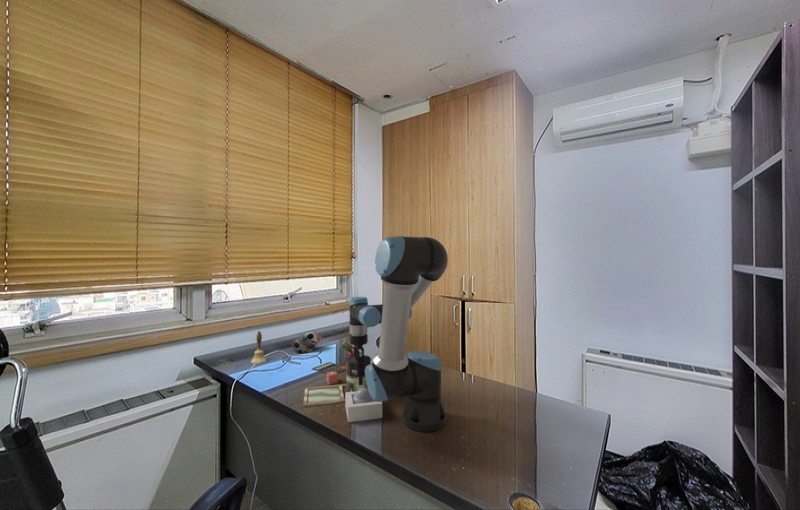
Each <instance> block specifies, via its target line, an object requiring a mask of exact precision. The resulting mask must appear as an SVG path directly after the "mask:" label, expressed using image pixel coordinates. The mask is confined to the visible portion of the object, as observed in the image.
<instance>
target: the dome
mask: <svg viewBox="0 0 800 510" xmlns="http://www.w3.org/2000/svg"><path fill="white" fill-rule="evenodd" d="M367 402H373V398H372V397H371V395H370V393H369V390H368V389H367V388H360V389H359V390H358V391H357V392H356V394H354V396H353V404H358V403H367Z"/></svg>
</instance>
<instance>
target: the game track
mask: <svg viewBox="0 0 800 510" xmlns="http://www.w3.org/2000/svg"><path fill="white" fill-rule="evenodd" d="M343 388H347V383H341V384H330V385H321V386H312V387H311V386H310V387H305V388H304V396H303V405H302V407H303V408H306V407H314V406H321V405H331V404H332V405H333V404H339V403H341V404H342V403H345V396H344V395H345V394H344V390H343Z"/></svg>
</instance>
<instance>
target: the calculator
mask: <svg viewBox="0 0 800 510" xmlns="http://www.w3.org/2000/svg"><path fill="white" fill-rule="evenodd" d="M311 370H312V371H316V372H318V373H323V374H324V375H326V373H328V372H333V371H335V372H336V373H337V374H338V375H339V374H341V373H343V372H345V371H347V366H345V365H341V364H337V363H333V362H330V361H329V362H325V363H322V364H320V365H317V366H315V367H312V368H311Z"/></svg>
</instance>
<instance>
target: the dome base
mask: <svg viewBox="0 0 800 510" xmlns="http://www.w3.org/2000/svg"><path fill="white" fill-rule="evenodd" d="M356 392H357V391H355V392H345V394H344V395H345V396H344V399H345V402H344V404H345V412H346V417H347V423H355V422H363V421H369V420H377V419H382V418H383V401H381V402H376V401H375V400H373V402H367V403H358V404H353V396H354V394H356Z"/></svg>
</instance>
